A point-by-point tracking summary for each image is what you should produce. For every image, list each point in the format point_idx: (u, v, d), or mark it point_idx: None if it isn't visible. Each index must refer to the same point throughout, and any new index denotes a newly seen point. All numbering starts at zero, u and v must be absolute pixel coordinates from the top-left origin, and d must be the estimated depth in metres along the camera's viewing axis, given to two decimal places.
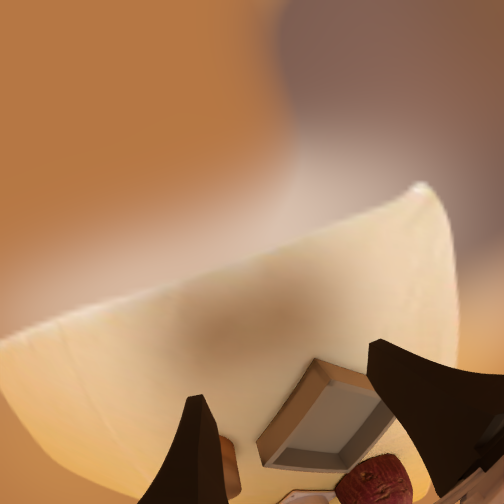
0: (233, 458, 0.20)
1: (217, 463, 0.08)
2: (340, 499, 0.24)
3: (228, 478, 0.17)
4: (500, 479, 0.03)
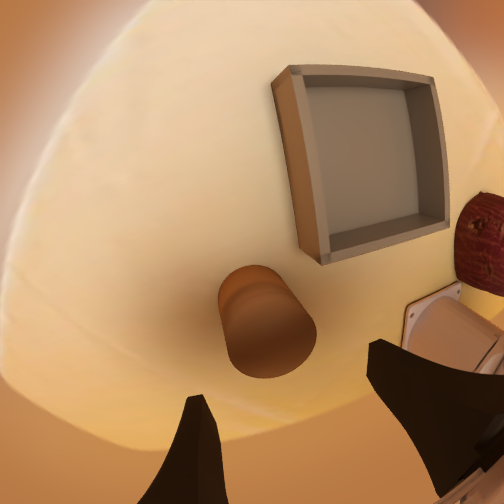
0: (277, 281, 0.16)
1: (217, 463, 0.08)
2: (469, 280, 0.20)
3: (272, 304, 0.13)
4: (500, 479, 0.03)
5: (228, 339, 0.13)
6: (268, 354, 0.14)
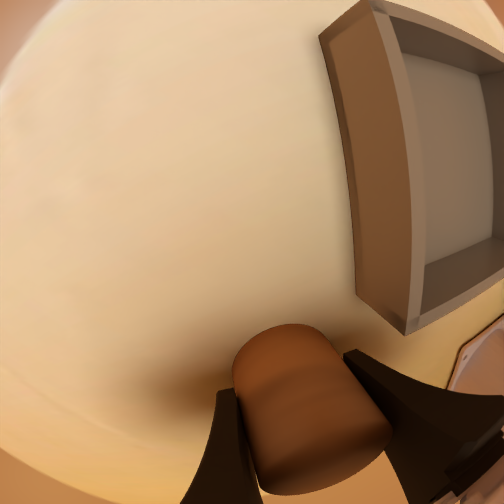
0: (331, 359, 0.09)
1: (250, 457, 0.08)
2: None
3: (341, 426, 0.06)
4: (500, 479, 0.03)
5: (260, 471, 0.06)
6: (319, 474, 0.07)
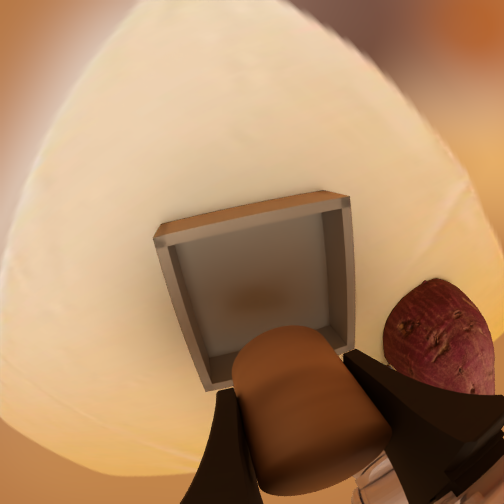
0: (333, 360, 0.09)
1: (250, 457, 0.08)
2: (396, 370, 0.22)
3: (343, 426, 0.06)
4: (500, 479, 0.03)
5: (261, 471, 0.06)
6: (318, 475, 0.07)
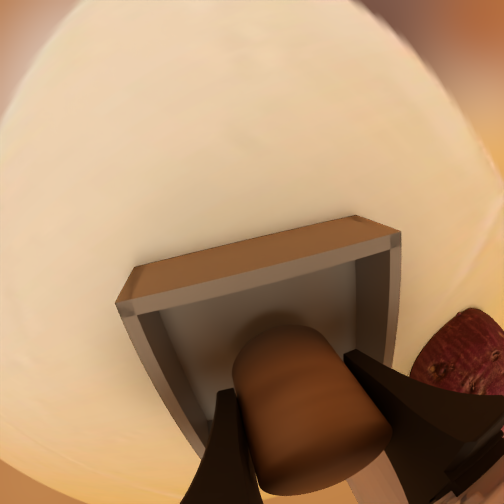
0: (333, 360, 0.09)
1: (250, 457, 0.08)
2: None
3: (344, 426, 0.06)
4: (500, 479, 0.03)
5: (261, 470, 0.06)
6: (318, 475, 0.07)
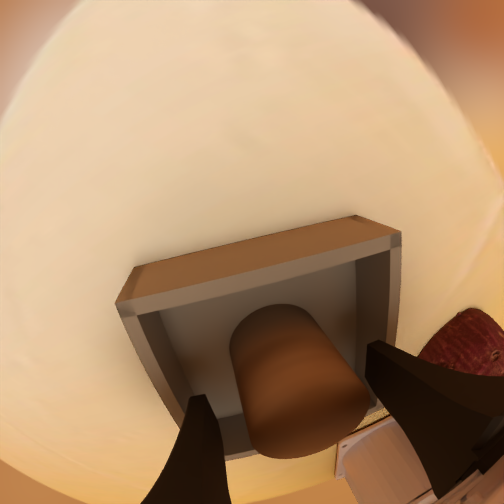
0: (317, 332, 0.11)
1: (220, 463, 0.08)
2: None
3: (322, 382, 0.08)
4: (500, 479, 0.03)
5: (252, 425, 0.08)
6: (304, 436, 0.09)
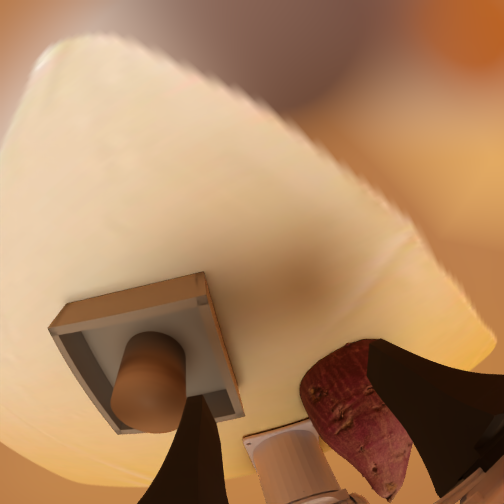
0: (162, 354, 0.16)
1: (217, 463, 0.08)
2: None
3: (138, 384, 0.13)
4: (500, 479, 0.03)
5: None
6: (146, 417, 0.14)
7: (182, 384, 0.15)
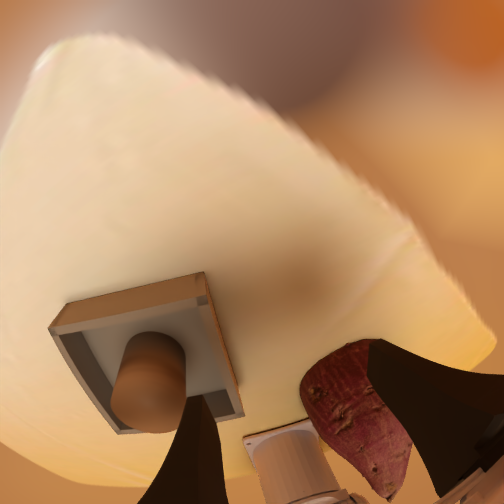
0: (162, 354, 0.16)
1: (217, 463, 0.08)
2: None
3: (138, 384, 0.13)
4: (500, 479, 0.03)
5: None
6: (146, 417, 0.14)
7: (182, 384, 0.15)
